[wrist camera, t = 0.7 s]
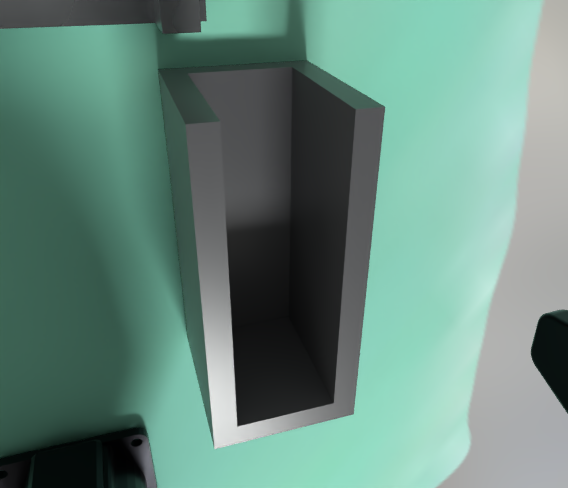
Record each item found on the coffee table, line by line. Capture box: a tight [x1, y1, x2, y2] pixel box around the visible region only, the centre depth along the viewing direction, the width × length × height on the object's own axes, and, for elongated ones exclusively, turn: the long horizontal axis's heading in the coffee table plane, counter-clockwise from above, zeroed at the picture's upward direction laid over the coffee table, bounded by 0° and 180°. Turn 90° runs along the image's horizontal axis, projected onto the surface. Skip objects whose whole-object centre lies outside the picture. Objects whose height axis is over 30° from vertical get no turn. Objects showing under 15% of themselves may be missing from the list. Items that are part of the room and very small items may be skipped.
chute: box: [158, 61, 385, 449], centre depth 18 cm, size 11×5×6 cm, turn 179°
